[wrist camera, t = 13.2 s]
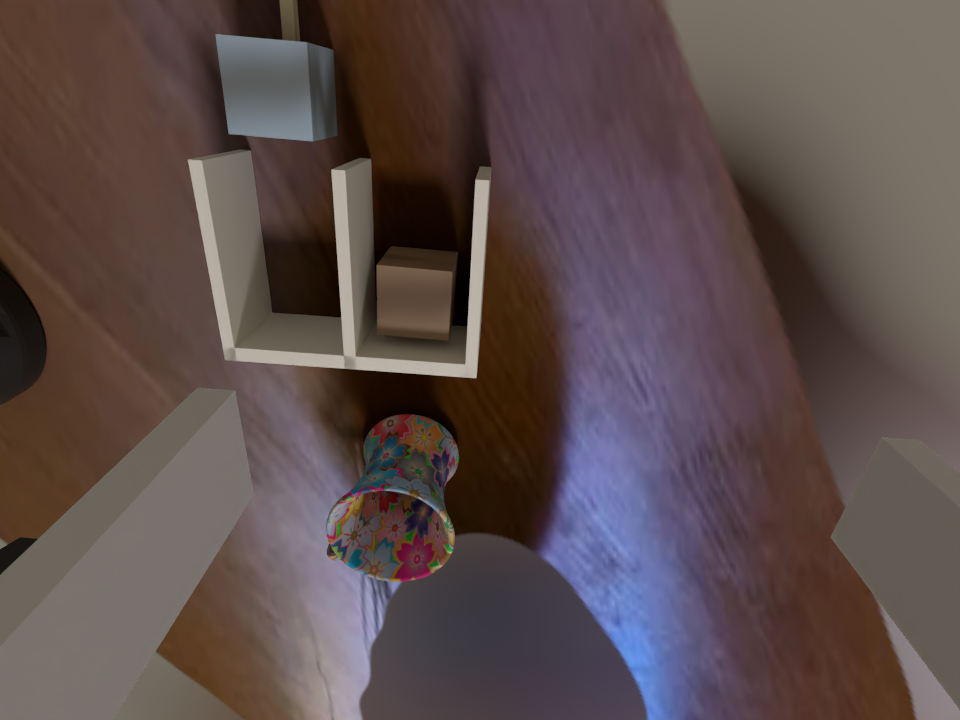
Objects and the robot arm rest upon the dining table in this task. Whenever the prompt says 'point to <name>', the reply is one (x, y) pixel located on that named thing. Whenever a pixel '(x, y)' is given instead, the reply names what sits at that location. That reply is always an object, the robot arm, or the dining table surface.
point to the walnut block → (416, 293)
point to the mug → (398, 502)
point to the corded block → (278, 84)
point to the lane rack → (352, 336)
